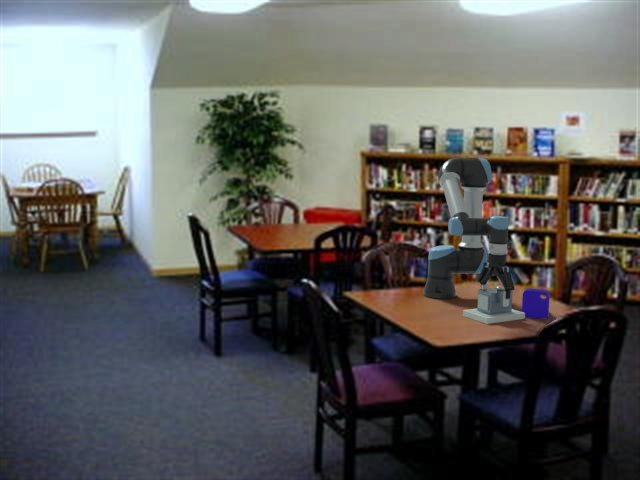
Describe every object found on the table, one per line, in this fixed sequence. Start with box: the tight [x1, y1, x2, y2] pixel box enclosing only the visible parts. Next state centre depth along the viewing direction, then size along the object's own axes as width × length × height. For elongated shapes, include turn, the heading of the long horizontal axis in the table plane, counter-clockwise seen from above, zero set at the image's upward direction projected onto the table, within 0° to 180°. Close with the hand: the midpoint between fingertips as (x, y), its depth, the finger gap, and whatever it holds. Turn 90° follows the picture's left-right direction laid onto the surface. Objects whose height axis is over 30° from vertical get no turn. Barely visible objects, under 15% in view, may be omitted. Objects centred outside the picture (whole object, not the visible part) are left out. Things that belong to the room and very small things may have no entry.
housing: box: [476, 285, 514, 315], centre depth 359 cm, size 8×13×10 cm, turn 121°
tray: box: [462, 308, 526, 325], centre depth 360 cm, size 15×21×3 cm
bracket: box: [521, 287, 551, 320], centre depth 369 cm, size 18×11×12 cm, turn 161°
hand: (494, 302), depth 359 cm, fingers open, 13 cm apart
